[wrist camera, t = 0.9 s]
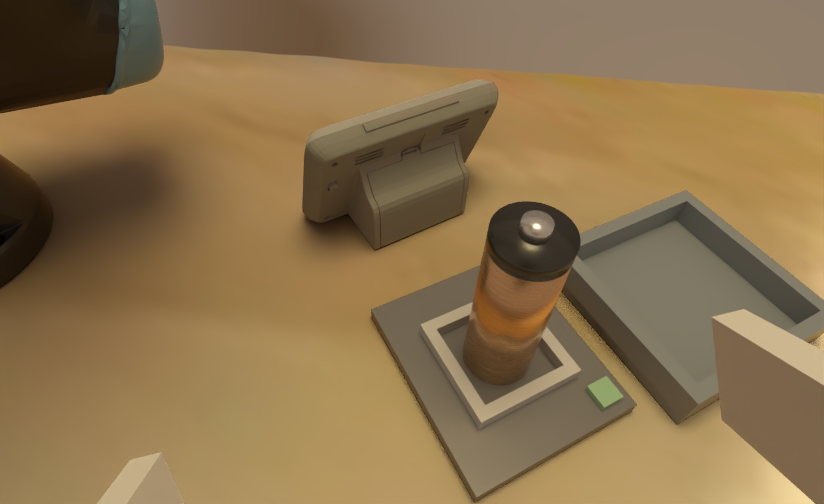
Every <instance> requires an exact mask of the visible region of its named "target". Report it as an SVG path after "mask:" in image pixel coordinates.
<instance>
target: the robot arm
mask: <svg viewBox="0 0 824 504" xmlns="http://www.w3.org/2000/svg"><path fill="white" fill-rule="evenodd" d="M163 61H164V50H163V41H162V35H161V29H160V23H159V18H158V12H157V8H156V3H155V0H0V113H5V112H11V111H16V110H21V109H27V108H32V107H38V106H43V105H49V104H54V103H59V102H65V101H70V100H76V99H81V98H87V97H92V96H97V95H108V94H112V93H114V92H115V91H116V90H118V89H122V88H126V87H129V86H133V85H137V84H140V83H144V82H148V81H150V80H152V79H153V78H155V77H156V76H157V75H158V74H159V72H160V71H161V68H162V66H163ZM51 225H52V209H51V206H50V203H49V201H48V200H47V198H46V197H45V195H44V194H43V192H42V191H41V190H40V188H39V187H38V185H37V184H36V182H35V181H34V180H33V179H32V178H31V177H30V176H29V175H28V174H27V173H26V172H24V171H23V170H22V169H20V168H19V167H17V166H16V165H15V164H13V163H12V162H10V161H9V160H8V159H6V158H5V157H3V156H2V155H1V154H0V286H2V285H3V284H5V283H6V282H7V281H9V280H10V279H11V278H13V277H14V276H15V275H16V274H17V273H19V272H20V271H21V270H22V269H23V268H24V267H25V266H26V265H27V264H28V263H29V262H30V261H31V260H32V259H33V258H34V257H35V255H36V254H37V253H38V252H39V250H40V249H41V247H42V246H43V244H44V243H45V241H46V239H47V237H48V234H49V232H50V229H51ZM711 318H712V328H713V338H714V348H715V358H716V368H717V378H718V388H719V398H720V408H721V418H722V420H723V421H724V422H725V423H726V424H727V425H728V426H729V427H731V428H732V429H733V430H734V431H735V432H736V433H737V434H738V435H739V436H741V437H742V438H743V439H744V440H745V441H746V442H747V443H748V444H750V445H751V446H752V447H753V448H754V449H755V450H756V451H757V452H758V453H760V454H761V455H762V456H763V457H764V458H765V459H766V460H767V461H769V462H770V463H771V464H772V465H773V466H774V467H775V468H776V469H777V470H779V471H780V472H781V473H782V474H783V475H784V476H785V477H786V478H788V479H789V480H790V481H791V482H792V483H793V484H794V485H795V486H796V487H798V488H799V489H800V490H801V491H802V492H803V493H804V494H805V495H806V496H808V497H809V498H810V499H811V500H812V501H813V502H814V503H815V504H824V351H822V350H821V349H819V348H817V347H815V346H813V345H811V344H809V343H807V342H805V341H804V340H802V339H800V338H798V337H796V336H794V335H792V334H790V333H788V332H787V331H785V330H783V329H781V328H779V327H777V326H775V325H773V324H771V323H770V322H768V321H766V320H764V319H762V318H760V317H758V316H756V315H754V314H753V313H751V312H749V311H747V310H745V309H742V310H738V311H734V312H730V313H726V314H722V315H717V316H713V317H711ZM97 504H184V502H183V500H182V498H181V495H180V493H179V491H178V488H177V486H176V484H175V481H174V479H173V477H172V474H171V472H170V470H169V467H168V465H167V463H166V460H165V458H164V456H163V453H162V452H160V453H156V454H152V455H147V456H143V457H139V458H135V459H131V460H130V461H129V462H128V463H127V465H126V466H125V467H124V469H123V470H122V471H121V473H120V474H119V475H118V477H117V478H116V479H115V481H114V482H113V483H112V485H111V486H110V487H109V489H108V490H107V491H106V493H105V494H104V495H103V497H102V498H101V499H100V501H99V502H98V503H97Z"/></svg>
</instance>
